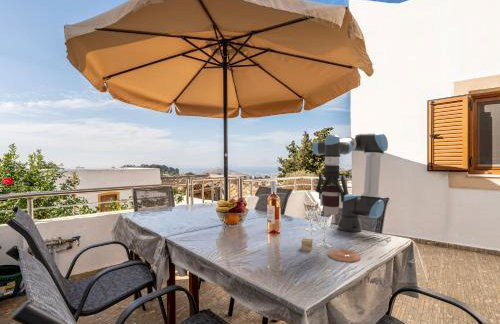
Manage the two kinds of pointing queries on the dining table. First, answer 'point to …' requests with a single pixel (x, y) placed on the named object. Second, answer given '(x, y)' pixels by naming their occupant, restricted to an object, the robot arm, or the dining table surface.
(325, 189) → the coffee cup
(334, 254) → the saucer
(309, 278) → the dining table surface
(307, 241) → the tan cube
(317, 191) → the robot arm
